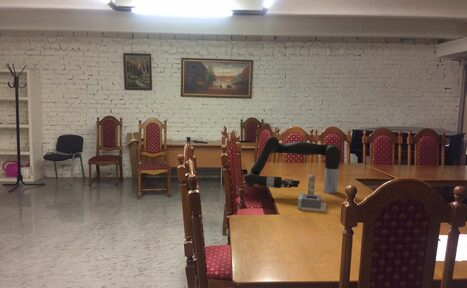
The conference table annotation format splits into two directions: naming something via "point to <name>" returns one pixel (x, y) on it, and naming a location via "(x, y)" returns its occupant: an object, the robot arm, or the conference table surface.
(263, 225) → the conference table surface
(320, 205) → the dowel dock
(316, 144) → the robot arm
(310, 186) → the dowel
